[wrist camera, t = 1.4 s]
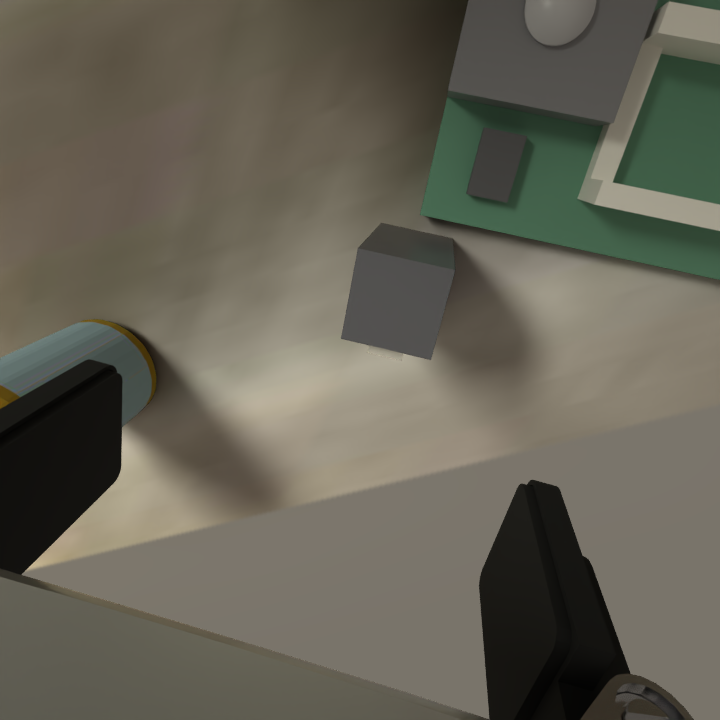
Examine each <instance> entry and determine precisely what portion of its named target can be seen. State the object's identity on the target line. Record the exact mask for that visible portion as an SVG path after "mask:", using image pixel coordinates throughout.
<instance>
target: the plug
mask: <svg viewBox="0 0 720 720" xmlns="http://www.w3.org/2000/svg"><path fill="white" fill-rule="evenodd" d="M454 273H455V260H454V249H453V239H452V238H448V237H443V236H439V235H434V234H430V233H425V232H420V231H416V230H411V229H407V228H402V227H398V226H393V225H389V224H384V223H381V224H380V225H379V226H378V227H377V228H376V229H375V230H374V231H373V232H372V234H371V235H370V236H369V237H368V238H367V239H366V240H365V241H364V242H363V243H362V244H361V246H360V247H359V248H358V251H357V256H356V261H355V267H354V272H353V278H352V283H351V288H350V294H349V299H348V304H347V310H346V315H345V320H344V326H343V331H342V336H341V339H345V340H349V341H353V342H357V343H362V344H366V345H369V347H368V352H367V353H371V354H375V355H379V356H383V357H387V358H392V359H396V360H400V361H402V357H403V353H404V354H408V355H412V356H416V357H420V358H425V359H429V360H431V357H432V354H433V350H434V346H435V343H436V339H437V335H438V332H439V328H440V324H441V321H442V317H443V313H444V310H445V306H446V302H447V299H448V295H449V291H450V288H451V284H452V280H453V277H454Z"/></svg>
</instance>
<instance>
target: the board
mask: <svg viewBox="0 0 720 720" xmlns="http://www.w3.org/2000/svg"><path fill="white" fill-rule="evenodd" d="M420 215H423V216H428V217H433V218H437V219H442V220H446V221H451V222H456V223H460V224H465V225H469V226H474V227H479V228H483V229H488V230H493V231H497V232H502V233H506V234H511V235H516V236H520V237H525V238H529V239H534V240H539V241H543V242H548V243H552V244H557V245H562V246H566V247H571V248H575V249H580V250H585V251H589V252H594V253H598V254H603V255H608V256H612V257H617V258H621V259H626V260H631V261H635V262H640V263H644V264H649V265H654V266H658V267H663V268H667V269H672V270H677V271H681V272H686V273H690V274H695V275H700V276H704V277H709V278H713V279H718V280H720V0H658V2H657V4H656V7H655V10H654V13H653V15H652V18H651V21H650V24H649V26H648V29H647V32H646V35H645V37H644V40H643V43H642V46H641V49H640V51H639V54H638V57H637V60H636V62H635V65H634V68H633V71H632V73H631V76H630V79H629V82H628V85H627V87H626V90H625V93H624V96H623V98H622V101H621V104H620V107H619V109H618V112H617V115H616V118H615V121H614V123H612V124H606V125H601V126H592V125H587V124H582V123H577V122H572V121H567V120H562V119H557V118H552V117H547V116H542V115H537V114H532V113H527V112H522V111H517V110H512V109H507V108H502V107H497V106H492V105H487V104H482V103H477V102H472V101H467V100H462V99H457V98H451V97H447V101H446V105H445V109H444V114H443V118H442V122H441V127H440V131H439V135H438V139H437V144H436V148H435V152H434V157H433V161H432V165H431V170H430V174H429V178H428V183H427V187H426V191H425V196H424V200H423V204H422V208H421V213H420Z"/></svg>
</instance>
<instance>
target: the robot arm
mask: <svg viewBox="0 0 720 720" xmlns="http://www.w3.org/2000/svg"><path fill="white" fill-rule="evenodd" d="M122 384H123V380H122V376H121V375H120V374H119V373H117V370H116V367H114V366H113V365H110V364H106V363H102V362H99V361H95V360H91V359H88V360H85V361H83V362H81V363H80V364H78V365H76V366H74V367H73V368H71V369H69V370H67V371H66V372H64V373H62V374H60V375H59V376H57V377H55V378H53V379H51V380H50V381H48V382H46V383H44V384H43V385H41V386H39V387H37V388H36V389H34V390H32V391H30V392H29V393H27V394H25V395H23V396H22V397H20V398H18V399H16V400H15V401H13V402H11V403H9V404H8V405H6V406H4V407H2V408H1V409H0V720H489V719H486V718H483V717H480V716H477V715H474V714H471V713H468V712H465V711H462V710H459V709H456V708H453V707H450V706H447V705H443V704H441V703H437V702H435V701H431V700H429V699H425V698H422V697H419V696H416V695H413V694H410V693H407V692H404V691H401V690H398V689H395V688H391V687H388V686H385V685H382V684H378V683H375V682H372V681H369V680H366V679H362V678H359V677H356V676H353V675H349V674H346V673H343V672H340V671H337V670H333V669H330V668H327V667H324V666H321V665H317V664H314V663H311V662H308V661H304V660H301V659H298V658H294V657H292V656H288V655H285V654H282V653H279V652H275V651H272V650H269V649H266V648H262V647H259V646H256V645H252V644H249V643H246V642H243V641H239V640H235V639H233V638H229V637H226V636H223V635H220V634H216V633H213V632H210V631H207V630H203V629H200V628H197V627H193V626H190V625H187V624H183V623H180V622H177V621H174V620H170V619H167V618H163V617H160V616H157V615H154V614H150V613H147V612H144V611H140V610H137V609H134V608H130V607H127V606H124V605H120V604H117V603H114V602H111V601H107V600H104V599H100V598H97V597H94V596H90V595H87V594H84V593H80V592H77V591H73V590H70V589H67V588H63V587H60V586H57V585H53V584H50V583H46V582H43V581H40V580H36V579H33V578H30V577H26V576H23V575H21V574H22V573H23V572H24V571H25V570H26V569H27V568H28V567H29V566H30V565H31V564H33V563H34V562H35V561H36V560H37V559H38V558H39V557H40V556H41V555H42V554H43V553H44V552H45V551H46V550H47V549H48V548H49V547H50V546H51V545H52V544H53V543H54V542H55V541H56V540H57V539H58V538H59V537H60V536H61V535H62V534H63V533H64V532H65V531H66V530H67V529H68V528H69V527H70V526H71V525H72V524H73V523H74V522H75V521H76V520H77V519H78V518H79V517H80V516H81V515H82V514H83V513H84V512H85V511H86V510H87V509H88V508H89V507H90V506H91V505H92V504H93V503H94V502H95V501H96V500H97V499H98V498H99V497H100V496H101V495H102V494H103V493H104V492H105V491H106V490H107V489H108V488H109V487H110V486H111V485H112V484H113V483H114V482H115V481H116V479H117V478H118V476H119V473H120V470H121V444H122ZM479 590H480V603H481V616H482V628H483V641H484V652H485V653H484V654H485V667H486V679H487V690H488V691H487V692H488V704H489V718H490V720H694V719H693V718H692V717H691V715H690V714H689V713H688V712H687V710H686V709H685V708H684V707H683V706H682V705H681V704H680V703H679V702H678V701H677V700H676V699H675V698H674V697H673V696H672V695H671V694H670V693H668V692H667V691H666V690H664V689H663V688H662V687H660V686H659V685H657V684H656V683H654V682H652V681H650V680H648V679H646V678H643V677H641V676H637V675H632V674H630V671H629V668H628V665H627V663H626V660H625V657H624V654H623V651H622V649H621V646H620V643H619V640H618V637H617V635H616V632H615V629H614V626H613V623H612V621H611V618H610V615H609V612H608V609H607V606H606V604H605V601H604V598H603V596H602V593H601V590H600V587H599V584H598V581H597V579H596V576H595V573H594V570H593V567H592V565H591V563H590V561H589V560H588V559H587V558H586V557H584V556H582V553H581V550H580V548H579V544H578V542H577V539H576V536H575V533H574V530H573V527H572V524H571V521H570V518H569V515H568V512H567V509H566V506H565V504H564V500H563V498H562V495H561V492H560V489H559V488H558V487H557V486H553V485H550V484H546V483H542V482H539V481H535V480H530V482H529V483H528V484H527V485H525V484H520V485H519V486H518V488H517V490H516V492H515V495H514V497H513V499H512V502H511V504H510V507H509V509H508V511H507V514H506V516H505V518H504V520H503V523H502V525H501V527H500V530H499V532H498V534H497V537H496V539H495V541H494V544H493V546H492V548H491V551H490V553H489V555H488V558H487V560H486V562H485V565H484V567H483V569H482V572H481V576H480V582H479Z"/></svg>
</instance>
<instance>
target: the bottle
mask: <svg viewBox="0 0 720 720" xmlns="http://www.w3.org/2000/svg"><path fill="white" fill-rule="evenodd" d="M88 359H91V360H95V361H99V362H102V363H106V364H110V365H113V366H114V367H116V370H117V373H119V374H120V375H121V376H122V380H123V384H122V427H123V426H124V425H125V424H126V423H127V422H128V421H130V420H131V419H132V418H133V417H134V416H136V415H137V414H138V413H139V412H140V411H141V410H142V409H143V408H144V407H145V406H146V405H147V404H148V403H149V402H150V401H151V399H152V397H153V395H154V393H155V389H156V371H155V368H154V364H153V361H152V359H151V357H150V355H149V353H148V352H147V350H146V348H145V347H144V345H143V344H142V343H141V342H140V341H139V340H138V339H137V338H136V337H135V336H134V335H133V334H132V333H130V332H129V331H127V330H126V329H124V328H122V327H121V326H119V325H117V324H115V323H112V322H108V321H105V320H99V319H94V320H84V321H81V322H79V323H76V324H73V325H71V326H69V327H67V328H65V329H62V330H60V331H58V332H56V333H54V334H51V335H49V336H47V337H45V338H43V339H41V340H38V341H36V342H34V343H32V344H30V345H28V346H25V347H23V348H21V349H19V350H17V351H14V352H12V353H10V354H8V355H6V356H4V357H1V358H0V409H1V408H2V407H4V406H6V405H8V404H9V403H11V402H13V401H15V400H16V399H18V398H20V397H22V396H23V395H25V394H27V393H29V392H30V391H32V390H34V389H36V388H37V387H39V386H41V385H43V384H44V383H46V382H48V381H50V380H51V379H53V378H55V377H57V376H59V375H60V374H62V373H64V372H66V371H67V370H69V369H71V368H73V367H74V366H76V365H78V364H80V363H81V362H83V361H85V360H88Z"/></svg>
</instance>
